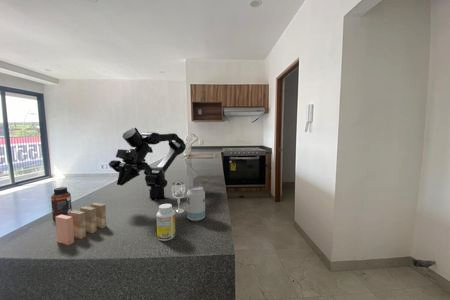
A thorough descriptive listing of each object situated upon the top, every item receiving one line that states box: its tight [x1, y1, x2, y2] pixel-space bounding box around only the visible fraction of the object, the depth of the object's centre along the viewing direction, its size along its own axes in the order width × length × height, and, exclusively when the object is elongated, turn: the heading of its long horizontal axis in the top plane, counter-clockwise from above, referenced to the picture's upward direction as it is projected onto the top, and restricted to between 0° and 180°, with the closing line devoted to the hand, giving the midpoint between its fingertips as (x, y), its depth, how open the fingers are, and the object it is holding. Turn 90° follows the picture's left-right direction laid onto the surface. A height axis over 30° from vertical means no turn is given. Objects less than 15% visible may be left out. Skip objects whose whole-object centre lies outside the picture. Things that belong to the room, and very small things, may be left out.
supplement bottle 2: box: [156, 203, 176, 242], centre depth 61 cm, size 6×6×10 cm
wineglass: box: [171, 181, 187, 214], centre depth 81 cm, size 6×6×12 cm
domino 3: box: [79, 205, 98, 234], centre depth 65 cm, size 2×5×8 cm, turn 71°
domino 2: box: [68, 209, 87, 240], centre depth 61 cm, size 2×5×8 cm, turn 71°
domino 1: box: [54, 215, 75, 246], centre depth 58 cm, size 2×5×8 cm, turn 71°
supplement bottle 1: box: [50, 186, 73, 219], centre depth 76 cm, size 6×6×11 cm
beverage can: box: [186, 185, 206, 222], centre depth 74 cm, size 7×7×12 cm
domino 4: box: [90, 202, 108, 229], centre depth 68 cm, size 2×5×8 cm, turn 71°
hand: (119, 184), depth 76 cm, fingers closed
